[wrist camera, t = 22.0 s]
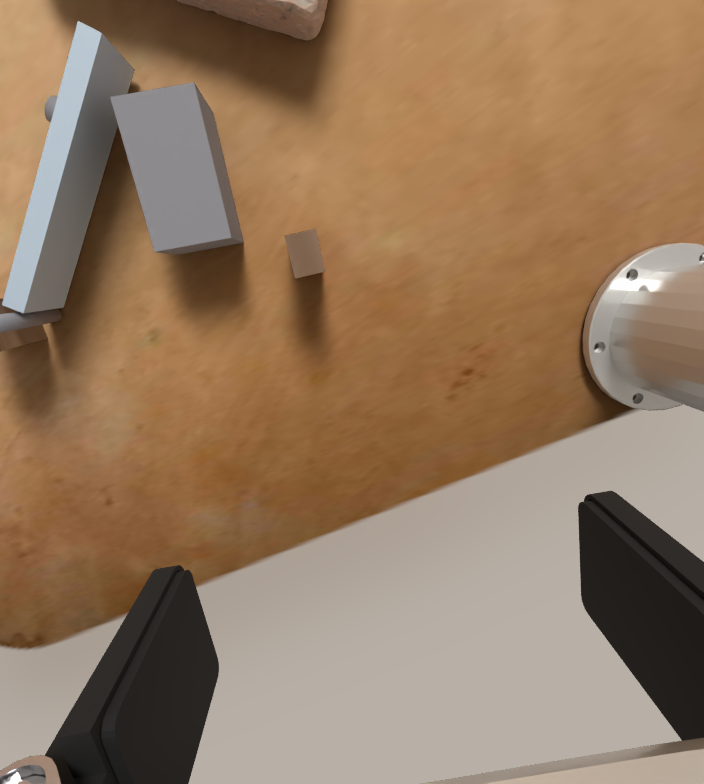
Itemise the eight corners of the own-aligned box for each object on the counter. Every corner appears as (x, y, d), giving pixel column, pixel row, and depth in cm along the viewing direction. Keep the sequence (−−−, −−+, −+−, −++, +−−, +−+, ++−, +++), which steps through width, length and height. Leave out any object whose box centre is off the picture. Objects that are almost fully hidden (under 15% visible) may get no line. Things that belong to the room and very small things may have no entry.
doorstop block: (213, 113, 29) (194, 82, 24) (244, 242, 31) (231, 237, 26) (143, 125, 29) (109, 96, 24) (179, 254, 31) (154, 251, 26)
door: (60, 324, 31) (3, 337, 25) (24, 310, 31) (-43, 319, 25) (136, 71, 28) (89, 19, 22) (96, 51, 27) (38, -8, 21)
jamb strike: (315, 236, 31) (315, 228, 25) (323, 271, 32) (325, 271, 26) (289, 242, 31) (284, 235, 25) (298, 277, 32) (295, 278, 26)
